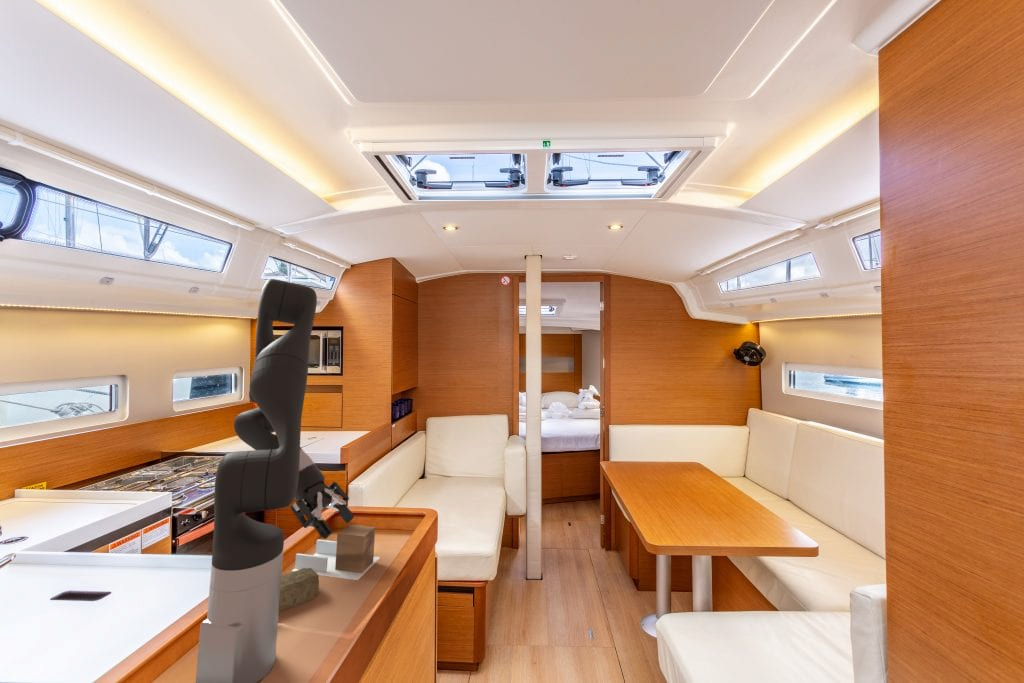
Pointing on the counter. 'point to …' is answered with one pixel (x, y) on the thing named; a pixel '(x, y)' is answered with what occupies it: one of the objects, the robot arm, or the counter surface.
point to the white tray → (326, 561)
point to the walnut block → (355, 548)
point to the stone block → (298, 587)
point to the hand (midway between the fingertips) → (340, 527)
